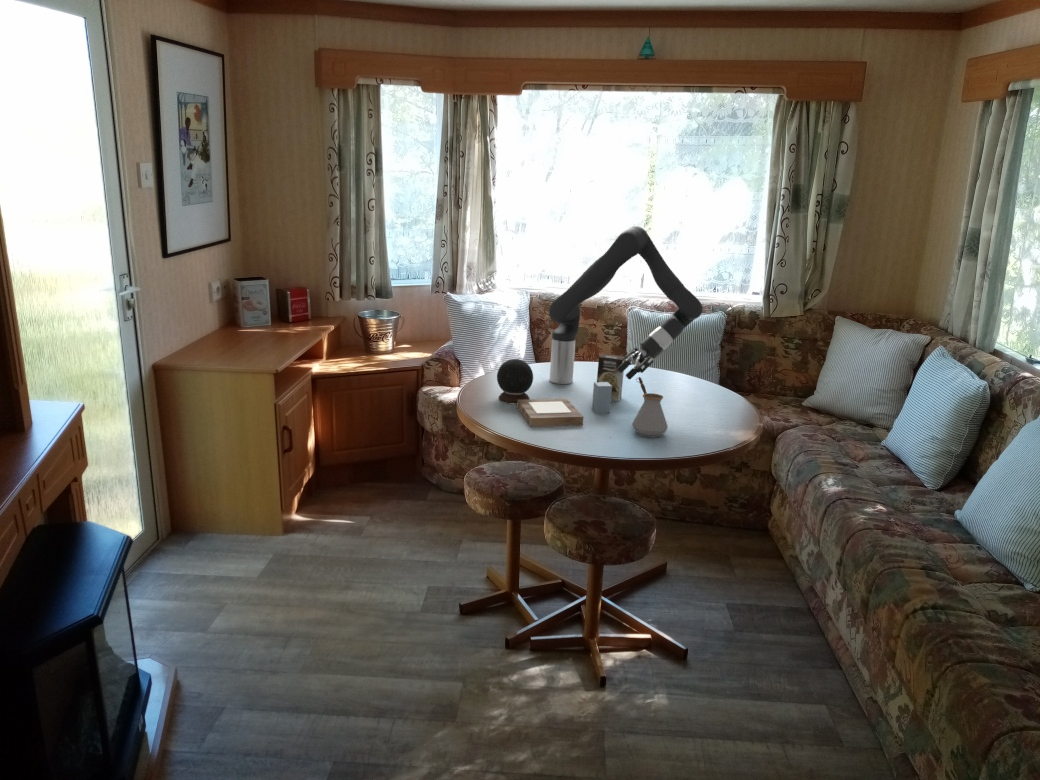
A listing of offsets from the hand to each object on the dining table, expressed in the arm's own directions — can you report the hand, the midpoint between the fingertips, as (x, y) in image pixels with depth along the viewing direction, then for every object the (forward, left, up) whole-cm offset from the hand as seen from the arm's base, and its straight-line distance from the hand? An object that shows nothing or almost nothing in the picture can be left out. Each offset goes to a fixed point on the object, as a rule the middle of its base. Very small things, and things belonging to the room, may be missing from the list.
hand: (623, 374), depth 272 cm
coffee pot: (+19, +2, -14) cm, 24 cm away
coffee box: (-15, +1, -14) cm, 20 cm away
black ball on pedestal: (-16, -35, -14) cm, 41 cm away
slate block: (0, -7, -13) cm, 15 cm away
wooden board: (+4, -27, -13) cm, 31 cm away
